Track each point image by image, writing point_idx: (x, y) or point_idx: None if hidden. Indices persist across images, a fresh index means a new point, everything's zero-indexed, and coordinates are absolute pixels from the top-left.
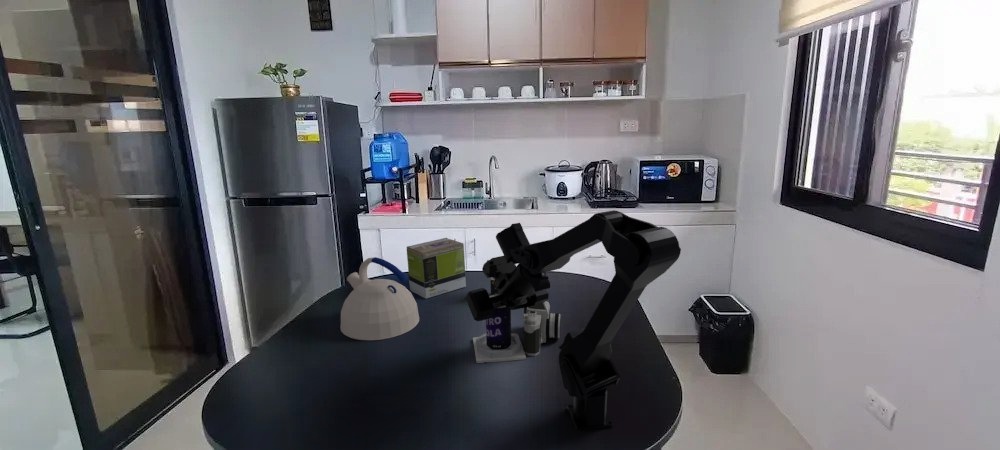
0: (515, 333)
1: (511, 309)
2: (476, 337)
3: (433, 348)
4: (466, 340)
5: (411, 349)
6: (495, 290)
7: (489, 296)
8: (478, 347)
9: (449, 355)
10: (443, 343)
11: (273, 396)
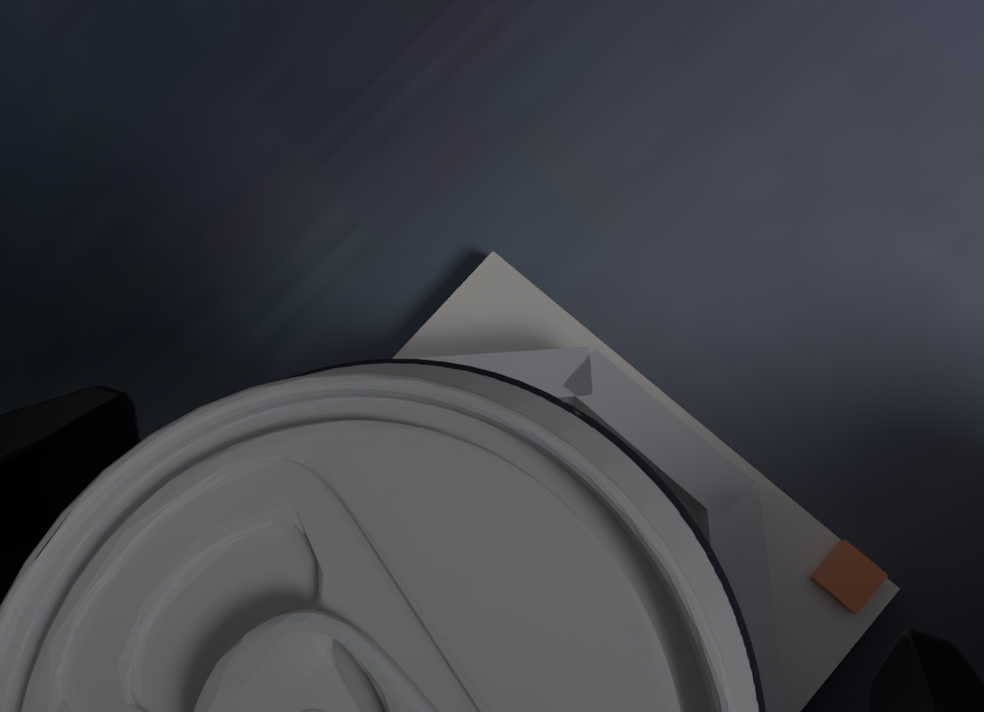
0: (876, 573)
1: (875, 696)
2: (516, 278)
3: (163, 118)
4: (448, 222)
5: (56, 7)
6: None
7: (309, 385)
8: None
9: (145, 309)
10: (278, 113)
11: None
